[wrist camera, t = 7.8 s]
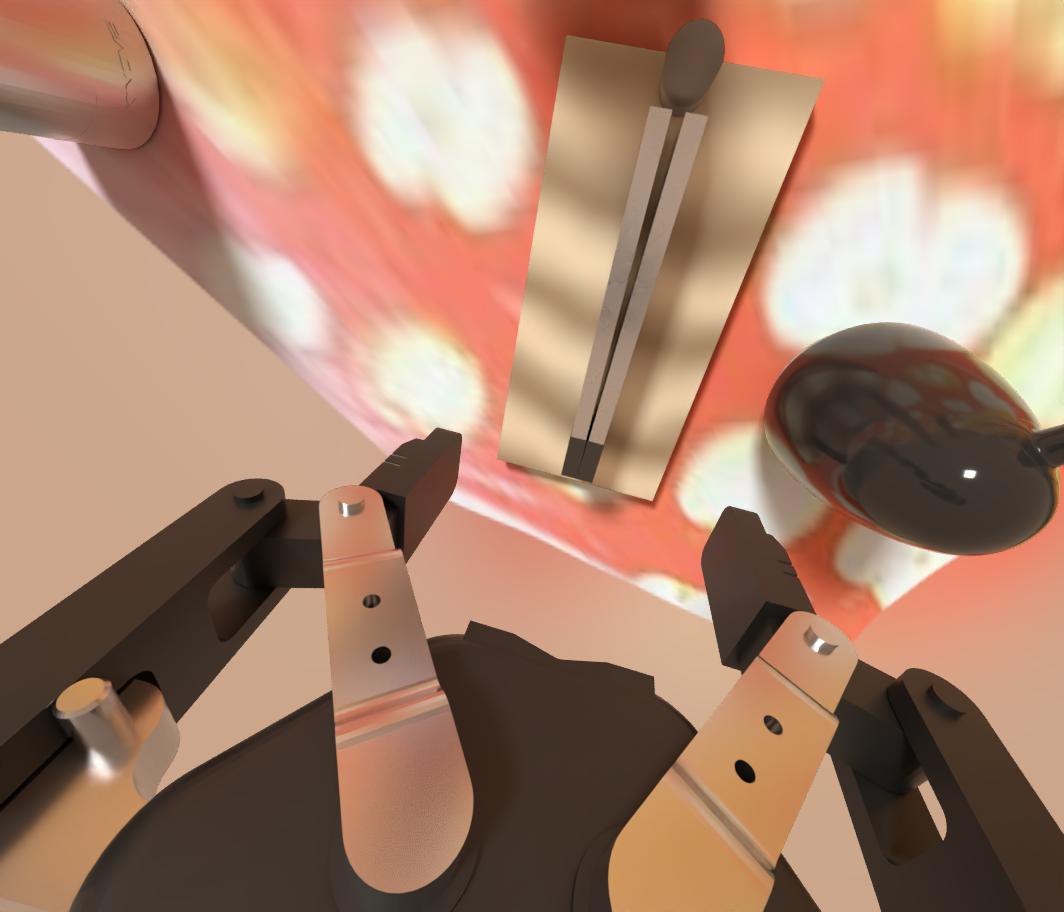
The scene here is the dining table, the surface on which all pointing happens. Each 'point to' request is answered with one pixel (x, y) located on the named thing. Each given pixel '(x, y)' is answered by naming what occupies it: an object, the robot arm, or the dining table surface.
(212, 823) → the robot arm
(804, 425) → the pump dispenser
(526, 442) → the tong board
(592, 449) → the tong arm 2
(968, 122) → the dining table surface
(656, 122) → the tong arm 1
